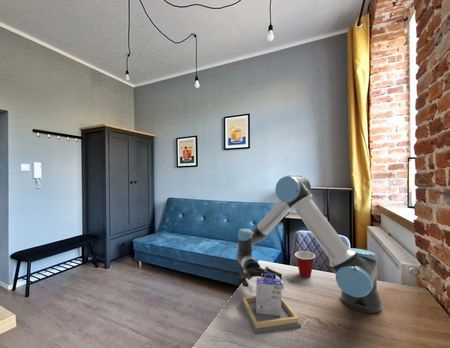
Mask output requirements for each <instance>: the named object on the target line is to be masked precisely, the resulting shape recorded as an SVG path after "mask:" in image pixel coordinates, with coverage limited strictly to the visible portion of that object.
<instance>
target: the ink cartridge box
mask: <svg viewBox="0 0 450 348" xmlns="http://www.w3.org/2000/svg"><path fill="white" fill-rule="evenodd" d="M267 275H270V276H272V278H269V277H266V276H267ZM255 285H256V286H255V287H256V288H255V289H256V293H255V294H256V313H258V314H266V315H274V316H281V298H283V297H282V293H283V292H282V289H281V279H273V274H269V273H265V274H264V278H263V277H256V282H255Z"/></svg>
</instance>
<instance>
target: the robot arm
mask: <svg viewBox="0 0 450 348" xmlns="http://www.w3.org/2000/svg"><path fill="white" fill-rule="evenodd" d="M311 187H312V186H311V182H310V181H309V180H308V179H307V178H306V177H305V176H303V175H285V176H282V177H281V178H279V179H278V181H277V182H276V184H275V188H274V189H275V190H274V191H275V195H276V196H277V198H278V201H277V202H276V203H275V205H274V206H273V207H272V208H271V209H270V210H269V211H268V212H267V214H266V215H265V216H264V217H263V218H262V219H261V221H259V222H258V223H257V225H256V226H255V227H254V228H253V229H250V228H239V230H238V235H237V239H238V240H237V241H238V242H237V243H238V245H237V246H238V247H237V248H238V249H237V252H236V255H235V256H236V260H237V262H238V263H239V265H240V266H241V267H242V268H240V272H239V274H238V277H237V285H242V287H244V288H246V289H247V290H248V291H249V293H250V294H252V293H253V285H252V284H251V282H250V280H251V279H252V278H264V274H265V273H269V274H273V279H281V289H282V290H284V289H285V287H284V285H285V283H284V282H283V274H282V273H280V272H278V271H276V270H273V269H271V268H269V267H268V266H265V268H263V267H261V265H260V263H259V262H258V261H257V260H256V258H254V257H253V245H256V244H257V243H259V242H263V241H264V240H265V239H266V238H267V236H268V234H269V233H270V232H271V231H272V230H273V229H274V228H275V227H276V226H277V224H279V223H280V221H281V220H283V218H284V217H286V215H287V214H288V213H289V212H290V211H291V210H293V211H295V212H296V213H297V214H298V216H299V218H300V219H301V220H302V222H303V223H304V225H305V226H306V227H307V229H308V230H309V232H310V233H311V235H312V236H313V237H314V239H315V240H316V241H317V243H318V245H319V246H320V248H321V249H322V250H323V252H324V253H325V254H326V256H327V257H328V259H329V267H330V268H331V271H333V273H334V274H335V281H336V284H337V286H338V287H339V288H340V290H341V292H340V299H341V301H342V303H343V304H345V305H346V306H348V307H349V308H351V309H353V310H355V311H358V312H361V313H366V314H377V313H380V312H381V311H382V309H383V308H382V307H383V306H382V301H381V299H380V295H379V292H378V289H377V288H378V286H377V284H378V279H377V278H378V272H377V271H378V257H377V254H376V253H375V252H372V251H370V250H367V249H361V248H356V247H355V248H353V247H352V248H351V247H348V246H347V245H346V243H345V242H344V241H343V240H342V238H341V236H340V235H339V234H338V232H337V231H336V230H335V228H334V227H333V226H332V225H331V224H330V222H329V221H328V219H327V218H326V217H325V215H324V214H323V213H322V212H321V210H320V209H319V207H318V206H317V205H316V203H315V201H313V193H312V192H311ZM266 277H269V278H272V276H270V275H267V276H266Z"/></svg>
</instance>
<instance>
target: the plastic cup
mask: <svg viewBox="0 0 450 348" xmlns="http://www.w3.org/2000/svg"><path fill="white" fill-rule="evenodd" d="M294 256H295V258H296V262H297V268H298V274H299V276H300V277H302V278H305V279H307V278H308V279H310V278H311V276H312V271H313V268H314V267H313V266H314V262H315V258H316V254H315V253H314V252H311V251H306V250H301V251H296V252H295V253H294Z"/></svg>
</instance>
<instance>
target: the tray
mask: <svg viewBox="0 0 450 348" xmlns="http://www.w3.org/2000/svg"><path fill="white" fill-rule="evenodd" d="M240 305H241V307H242V309H243V312H244V313H245V316H246V318H247V321H248V323H249V324H250V327H251V329H252V331H253V333H254V334H261V333H267V332H269V333H270V332H275V331H282V330H290V329H296V328H301V327H302V323H301V321H300V320H299V317H298V316H297V314H296V313H295V312H294V310H293V309H292V308H291V307H290V305H289V304H288V303H287V302H286V301H285V300H284V298H283V297H282V298H281V316H274V315H266V314H258V313H256V296H244V297H242V300H240Z"/></svg>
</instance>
